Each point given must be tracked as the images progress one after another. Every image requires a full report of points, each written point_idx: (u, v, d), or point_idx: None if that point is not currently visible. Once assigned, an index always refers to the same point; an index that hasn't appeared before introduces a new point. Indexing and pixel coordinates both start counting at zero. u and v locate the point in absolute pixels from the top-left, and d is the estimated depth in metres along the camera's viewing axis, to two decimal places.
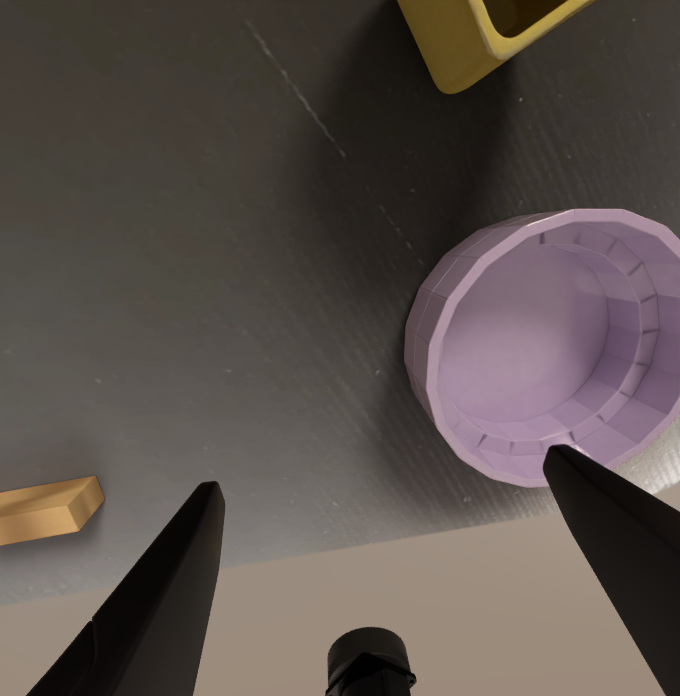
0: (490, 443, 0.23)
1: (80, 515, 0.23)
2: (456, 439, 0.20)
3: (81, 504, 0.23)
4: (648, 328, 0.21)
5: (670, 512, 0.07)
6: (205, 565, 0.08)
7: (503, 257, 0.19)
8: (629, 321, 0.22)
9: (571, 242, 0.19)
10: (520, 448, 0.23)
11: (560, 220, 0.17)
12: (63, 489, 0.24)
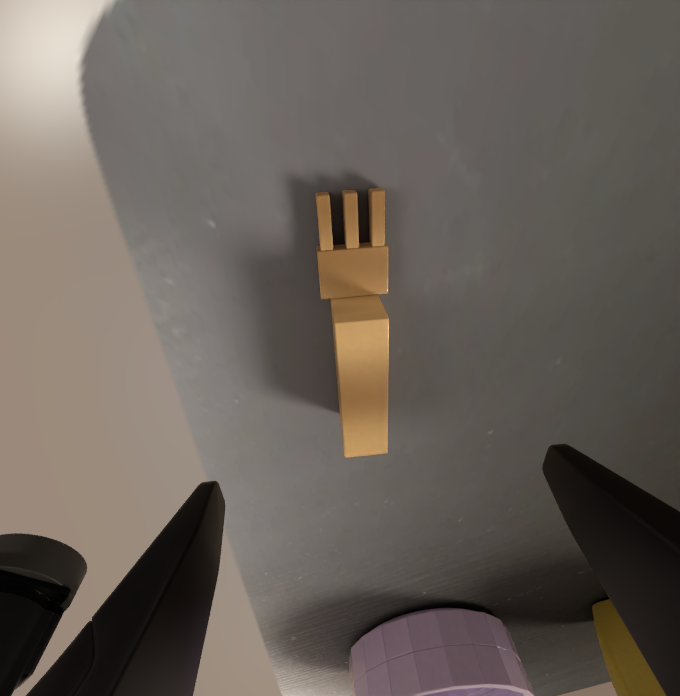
0: None
1: None
2: None
3: None
4: None
5: (670, 512, 0.07)
6: (205, 565, 0.08)
7: None
8: (434, 693, 0.36)
9: None
10: None
11: None
12: None
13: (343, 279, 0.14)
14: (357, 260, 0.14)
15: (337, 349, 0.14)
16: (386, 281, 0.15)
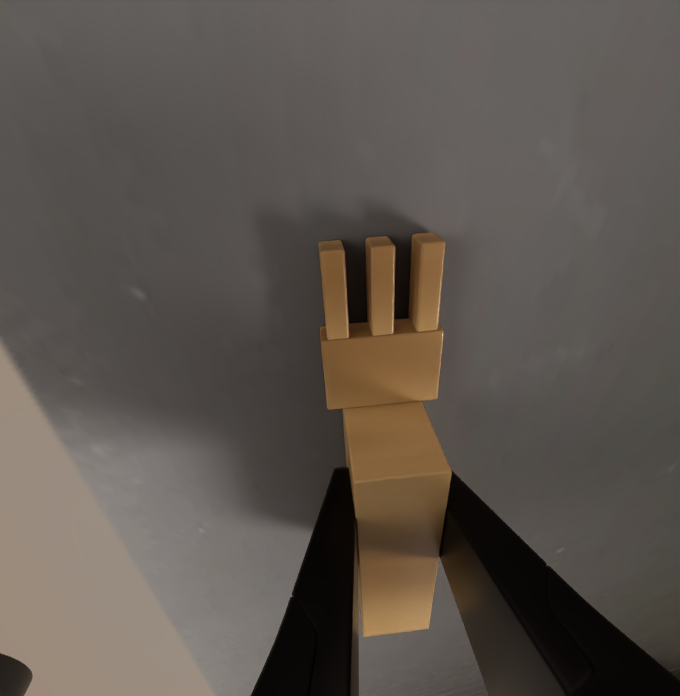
0: None
1: None
2: None
3: None
4: None
5: (503, 531, 0.07)
6: None
7: None
8: None
9: None
10: None
11: None
12: None
13: (365, 381, 0.09)
14: (390, 353, 0.08)
15: (357, 516, 0.08)
16: (436, 382, 0.09)
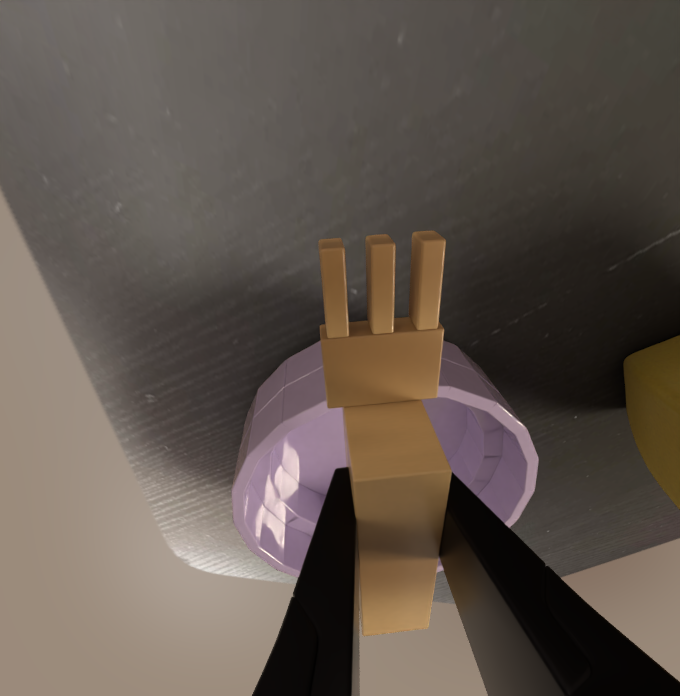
0: None
1: None
2: (312, 418, 0.15)
3: None
4: None
5: (502, 531, 0.07)
6: None
7: (484, 430, 0.19)
8: None
9: (476, 476, 0.21)
10: (259, 462, 0.19)
11: (530, 483, 0.18)
12: None
13: (365, 380, 0.09)
14: (390, 352, 0.08)
15: (357, 515, 0.08)
16: (436, 381, 0.09)
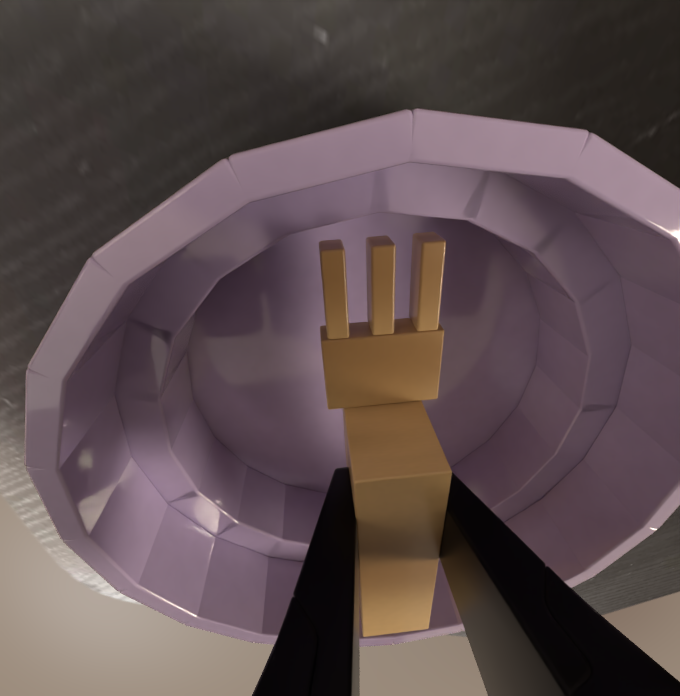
0: (144, 350, 0.09)
1: None
2: (177, 244, 0.05)
3: None
4: None
5: (502, 531, 0.07)
6: None
7: (592, 348, 0.10)
8: None
9: (562, 448, 0.11)
10: (140, 415, 0.09)
11: None
12: None
13: (365, 381, 0.09)
14: (390, 353, 0.08)
15: (357, 516, 0.08)
16: (436, 382, 0.09)
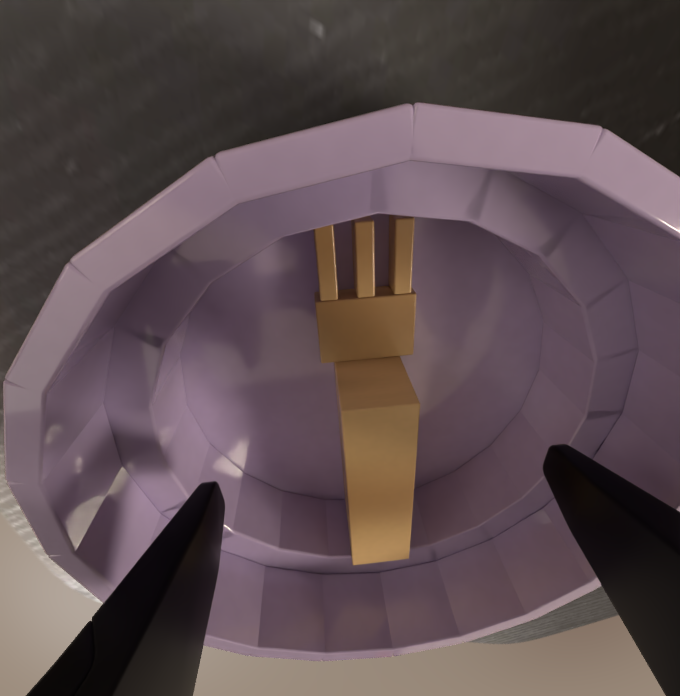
0: (134, 357, 0.08)
1: None
2: (161, 248, 0.05)
3: None
4: None
5: (670, 512, 0.07)
6: (205, 565, 0.08)
7: (598, 354, 0.09)
8: None
9: None
10: (130, 424, 0.09)
11: None
12: None
13: (352, 337, 0.10)
14: (372, 313, 0.10)
15: (344, 444, 0.09)
16: (411, 339, 0.10)
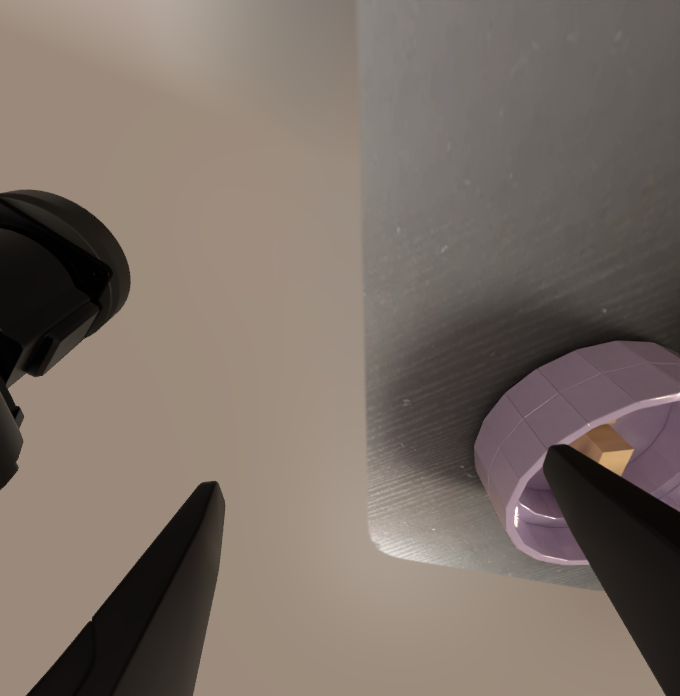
0: None
1: None
2: (613, 419, 0.18)
3: None
4: None
5: (670, 512, 0.07)
6: (205, 565, 0.08)
7: None
8: None
9: None
10: None
11: None
12: None
13: None
14: None
15: None
16: None
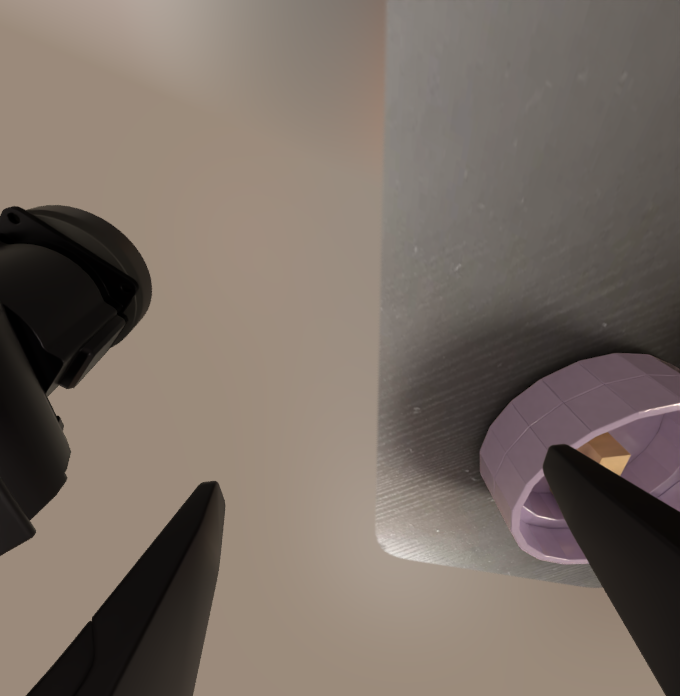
0: None
1: None
2: (615, 428, 0.19)
3: None
4: None
5: (670, 512, 0.07)
6: (205, 565, 0.08)
7: None
8: None
9: (676, 472, 0.26)
10: None
11: None
12: None
13: None
14: None
15: None
16: None
